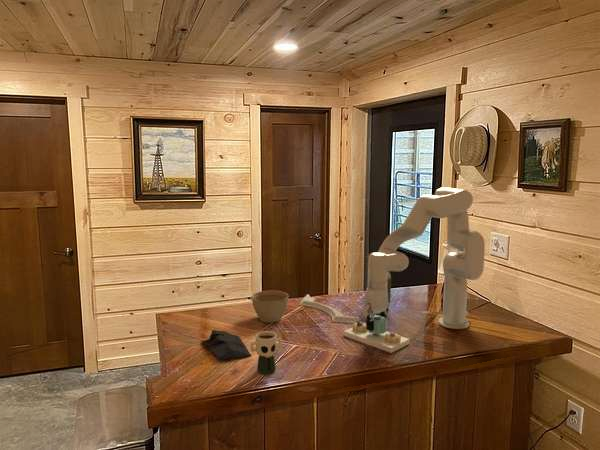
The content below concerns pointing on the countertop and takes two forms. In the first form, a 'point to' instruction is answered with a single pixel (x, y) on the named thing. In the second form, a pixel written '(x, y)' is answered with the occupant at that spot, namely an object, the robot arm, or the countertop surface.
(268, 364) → the character mug
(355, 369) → the countertop surface
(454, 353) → the countertop surface
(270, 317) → the planter bowl
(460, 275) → the robot arm
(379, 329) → the loose gear
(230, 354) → the dark slate chunk
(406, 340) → the gear board
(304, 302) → the molding
